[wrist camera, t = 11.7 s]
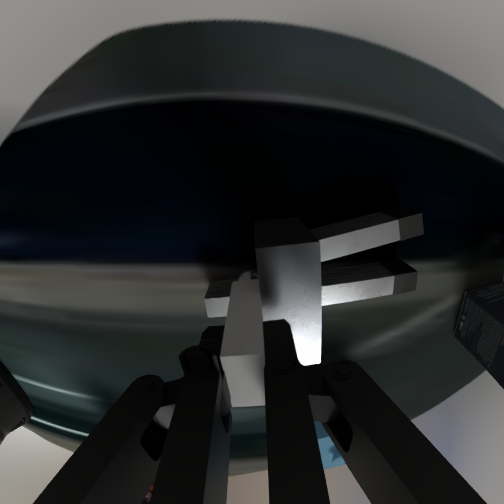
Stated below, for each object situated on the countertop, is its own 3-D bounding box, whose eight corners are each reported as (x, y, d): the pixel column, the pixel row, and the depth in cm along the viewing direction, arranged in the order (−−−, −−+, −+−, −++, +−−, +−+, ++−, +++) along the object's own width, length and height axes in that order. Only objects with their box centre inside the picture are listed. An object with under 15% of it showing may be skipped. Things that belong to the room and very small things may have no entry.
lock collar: (264, 312, 21) (268, 369, 15) (254, 221, 19) (255, 248, 12) (302, 308, 21) (320, 363, 14) (296, 216, 19) (320, 241, 12)
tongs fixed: (214, 297, 21) (208, 318, 18) (208, 263, 20) (200, 280, 17) (396, 274, 20) (415, 290, 17) (398, 242, 20) (419, 255, 16)
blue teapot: (287, 368, 23) (297, 432, 16) (351, 351, 23) (378, 409, 15) (305, 434, 26) (313, 485, 19) (354, 421, 26) (370, 469, 19)
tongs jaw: (268, 259, 20) (271, 275, 17) (263, 240, 19) (265, 253, 16) (402, 224, 19) (423, 234, 16) (400, 206, 19) (421, 212, 16)
